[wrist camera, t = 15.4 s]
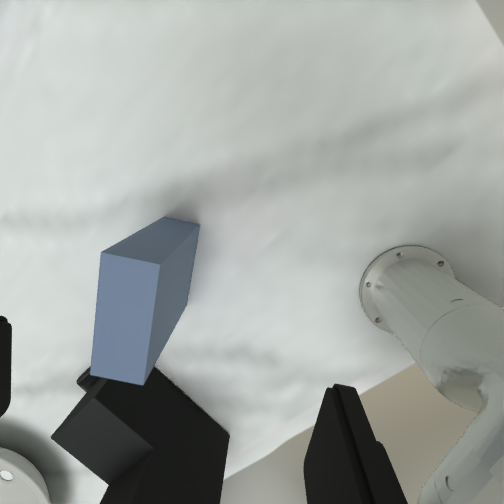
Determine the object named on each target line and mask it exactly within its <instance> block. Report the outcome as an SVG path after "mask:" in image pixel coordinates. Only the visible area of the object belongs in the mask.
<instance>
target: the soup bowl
mask: <svg viewBox="0 0 504 504" xmlns="http://www.w3.org/2000/svg"><path fill="white" fill-rule="evenodd" d="M3 470H5V471H8V472H10V473H11V474H12V475H13V479H12V480H10V481H7V480H4V479H3V478H1V476H0V504H51V502H50V500H49V493H48V489H47V486H46V484H45V481H44V479H43V477H42V476H41V474H40V472H39V471H38V470H37V469H36V467H35V466H34V465H33V464H32V463H31V462H30V461H28V460H27V459H26V458H24V457H23V456H21V455H19V454H18V453H16V452H13V451H11V450H8V449H5V448H1V447H0V472H1V471H3Z"/></svg>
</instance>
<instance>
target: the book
mask: <svg viewBox="0 0 504 504" xmlns="http://www.w3.org/2000/svg"><path fill="white" fill-rule="evenodd" d="M199 229H200V225H199V224H194V223H189V222H184V221H180V220H175V219H170V218H165V217H163V218H161V219H159V220H158V221H156V222H154V223H152V224H150V225H149V226H147V227H145V228H143V229H142V230H140V231H138V232H136V233H134V234H133V235H131V236H129V237H127V238H126V239H124V240H122V241H120V242H118V243H117V244H115V245H113V246H111V247H109V248H108V249H106V250H104V251H102V252H101V257H100V268H99V280H98V291H97V302H96V314H95V325H94V336H93V347H92V359H91V370H90V375H93V376H98V377H103V378H108V379H113V380H118V381H123V382H128V383H133V384H138V385H144V383H145V382H146V380H147V378H148V376H149V374H150V372H151V370H152V369H153V367H154V365H155V363H156V361H157V359H158V357H159V356H160V354H161V352H162V350H163V348H164V346H165V345H166V343H167V341H168V339H169V337H170V335H171V333H172V332H173V330H174V328H175V326H176V324H177V322H178V321H179V319H180V317H181V315H182V313H183V311H184V309H185V308H186V306H187V301H188V295H189V289H190V283H191V277H192V271H193V265H194V259H195V253H196V247H197V241H198V235H199Z"/></svg>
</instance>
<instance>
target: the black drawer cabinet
mask: <svg viewBox="0 0 504 504" xmlns="http://www.w3.org/2000/svg"><path fill="white" fill-rule="evenodd" d="M90 370H91V367H90V368H89V369H87V370H86V371H85V372H84V373H83V374H82V375H81V376H80V377H79V378H78V379H77V384H78V385H79V386H80V387H81V388H82V389H83V390H84V391H86V392H87V393H86V394H85V395H84V396H83V398H82V399H81V400H80V401H79V403H78V404H77V405H76V406H75V408H74V409H73V410H72V411H71V413H70V414H69V415H68V416H67V418H66V419H65V420H64V421H63V423H62V424H61V425H60V426H59V428H58V429H57V430H56V431H55V432H54V433H53V435H52V436H51V439H52V440H54V441H55V442H56V443H57V444H59V445H60V446H61V447H62V448H64V449H65V450H66V451H67V452H69V453H70V454H71V455H72V456H74V457H75V458H76V459H77V460H79V461H80V462H81V463H82V464H84V465H85V466H86V467H87V468H88V469H90V470H91V471H92V472H93V473H95V474H96V475H97V476H98V477H100V478H101V479H102V480H103V481H105V482H106V483H107V484H108V485H109V486H108V488H107V490H106V492H105V494H104V496H103V498H102V500H101V502H100V504H220V499H221V491H222V484H223V478H224V471H225V464H226V457H227V450H228V443H229V437H230V436H229V434H228V433H226V432H225V431H224V430H223V429H222V428H221V427H220V426H219V425H218V424H217V423H215V422H214V421H213V420H212V419H211V418H210V417H209V416H208V415H206V414H205V413H204V412H203V411H202V410H201V409H200V408H199V407H197V406H196V405H195V404H194V403H193V402H192V401H191V400H190V399H189V398H188V397H187V396H185V395H184V394H183V393H182V392H181V391H180V390H179V389H178V388H177V387H176V386H174V385H173V384H172V383H171V382H170V381H169V380H168V379H167V378H166V377H164V376H163V375H162V374H161V373H160V372H159V371H158V370H157V369H156V368H154V367H153V369H152V370H151V372H150V374H149V376H148V378H147V380H146V382H145V383H144V385H138V384H133V383H128V382H123V381H118V380H113V379H108V378H103V377H98V376H93V375H90Z"/></svg>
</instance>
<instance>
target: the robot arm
mask: <svg viewBox="0 0 504 504" xmlns="http://www.w3.org/2000/svg"><path fill="white" fill-rule="evenodd" d="M397 253H399V255H397ZM438 262H439V263H438ZM368 281H369V283H368V284H366V282H368ZM360 301H361V305H362V308H363V310H364V312H365V313H366V315H367V316H368V318H369V319H370V320H371V321H372V322H373V323H374V324H375V325H376V326H378V327H379V328H381V329H382V330H385V331H387V332H390V333H394V334H395V335H396V336H397V338H398V339H399V341H400V342H401V343H402V345H403V346H404V347H405V349H406V350H407V351H408V353H409V354H410V355H411V357H412V358H413V359H414V361H415V362H416V363H417V365H418V366H419V367H420V368H421V370H422V371H423V373H424V374H425V375H426V377H427V378H428V379H429V380H430V382H431V383H432V384H433V386H434V387H435V388H436V389H437V390H438V391H439V392H440V393H441V394H442V395H443V396H444V397H446V398H447V399H448V400H450V401H451V402H453V403H455V404H457V405H459V406H461V407H463V408H465V409H468V410H471V411H474V412H478V414H477V416H476V417H475V418H474V419H473V421H472V422H471V423H470V425H469V426H468V427H467V430H466V431H465V433H464V434H463V435H462V436H461V437H460V439H459V440H458V441H457V442H456V444H455V445H454V446H453V447H452V449H451V450H450V451H449V452H448V454H447V455H446V456H445V458H444V459H443V460H442V461H441V462H440V464H439V465H438V466H437V468H436V469H435V470H434V471H433V473H432V474H431V475H430V477H429V478H428V480H427V481H426V483H425V484H424V486H423V487H422V489H421V492H420V494H419V497H418V502H417V504H504V309H502V308H500V307H499V306H497V305H496V304H494V303H492V302H491V301H489V300H488V299H486V298H484V297H483V296H481V295H480V294H478V293H476V292H475V291H473V290H472V289H470V288H468V287H467V286H465V285H464V284H462V283H460V282H459V281H457V280H456V278H455V274H454V272H453V270H452V267H451V266H450V265H449V263H448V262H447V261H446V260H445V259H444V258H443V257H442V256H441V255H439V254H437V253H436V252H434V251H432V250H429V249H427V248H424V247H419V246H403V247H398V248H395V249H392V250H389V251H387V252H386V253H384V254H382V255H380V256H379V257H378V258H377V259H376V260H374V261H373V262H372V264H371V265H370V266H369V267H368V268H367V270H366V272H365V274H364V275H363V278H362V281H361V284H360ZM377 317H378V318H377ZM376 318H377V319H376ZM11 349H12V326H11V324H10V323H8V321H7V319H6V318H5V317H4V316H0V417H1V416H2V415H3V414H4V413H5V412H6V410H7V409H8V407H9V404H10V400H11ZM304 480H305V488H306V496H307V504H408V503H407V501H406V498H405V496H404V493H403V491H402V489H401V486H400V484H399V482H398V479H397V477H396V474H395V472H394V469H393V467H392V464H391V462H390V460H389V457H388V455H387V452H386V450H385V448H384V446H383V444H381V443H380V442H378V441H376V439H375V436H374V434H373V431H372V429H371V426H370V424H369V421H368V419H367V416H366V414H365V411H364V408H363V406H362V403H361V401H360V398H359V396H358V393H357V391H356V389H355V388H354V387H350V386H345V385H340V384H334V386H333V388H329V387H328V388H327V389H326V391H325V395H324V398H323V401H322V404H321V408H320V411H319V414H318V417H317V421H316V424H315V427H314V430H313V434H312V437H311V440H310V444H309V447H308V450H307V453H306V456H305V460H304Z"/></svg>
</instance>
